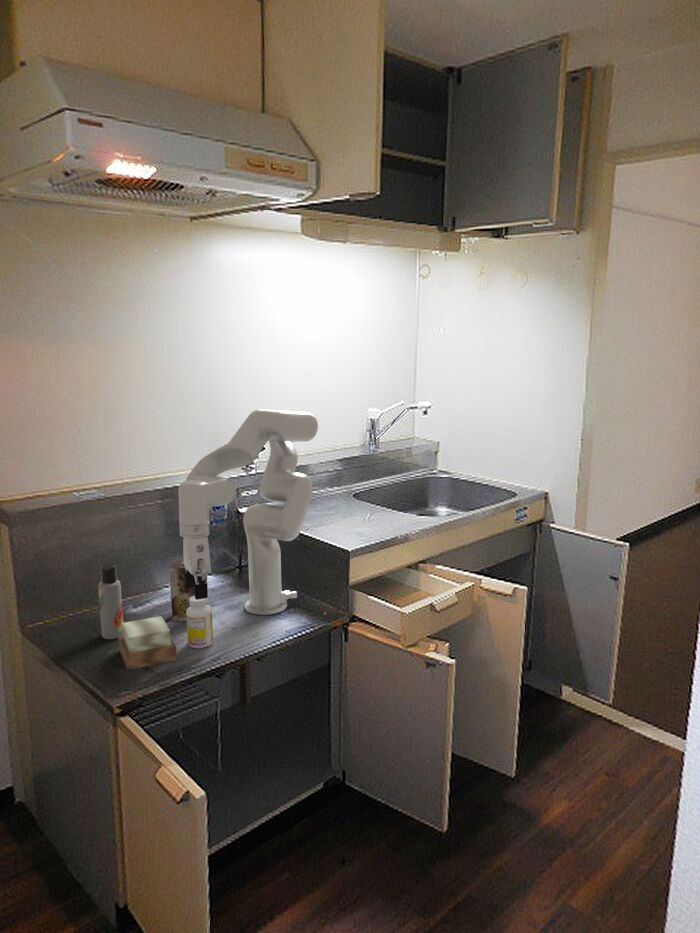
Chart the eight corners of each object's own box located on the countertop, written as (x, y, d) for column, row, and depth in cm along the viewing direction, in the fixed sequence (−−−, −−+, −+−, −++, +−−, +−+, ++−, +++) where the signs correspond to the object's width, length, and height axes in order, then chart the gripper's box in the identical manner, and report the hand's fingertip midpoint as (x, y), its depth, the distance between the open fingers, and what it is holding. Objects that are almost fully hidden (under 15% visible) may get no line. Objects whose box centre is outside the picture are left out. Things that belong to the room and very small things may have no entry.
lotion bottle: (128, 632, 200) (123, 562, 196) (116, 640, 194) (111, 569, 190) (110, 630, 201) (104, 561, 197) (97, 638, 196) (92, 567, 192)
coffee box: (209, 613, 213) (206, 560, 209) (202, 622, 206) (199, 568, 203) (178, 612, 213) (176, 559, 210) (171, 620, 207) (168, 567, 204)
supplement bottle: (202, 636, 197) (200, 591, 194) (218, 642, 193) (216, 597, 190) (182, 644, 192) (180, 598, 189) (198, 651, 188) (196, 604, 185)
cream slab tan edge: (166, 642, 193) (164, 614, 192) (176, 660, 183) (174, 630, 181) (119, 651, 188) (117, 622, 186) (127, 670, 177) (125, 640, 176)
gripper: (218, 535, 180) (219, 601, 183) (200, 519, 195) (202, 580, 198) (188, 538, 177) (190, 605, 180) (172, 522, 192) (174, 584, 195)
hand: (196, 592), depth 189 cm, fingers open, 9 cm apart
